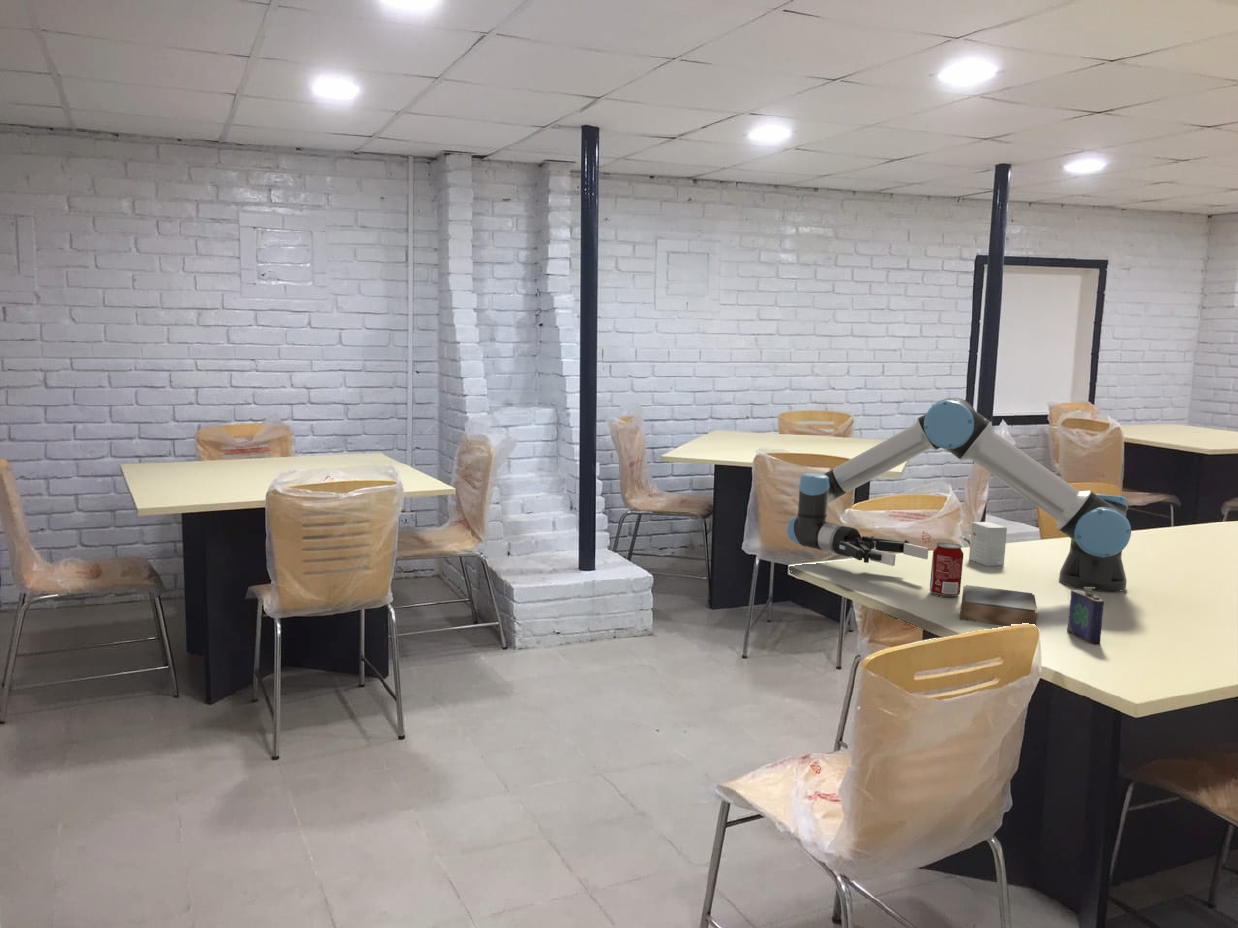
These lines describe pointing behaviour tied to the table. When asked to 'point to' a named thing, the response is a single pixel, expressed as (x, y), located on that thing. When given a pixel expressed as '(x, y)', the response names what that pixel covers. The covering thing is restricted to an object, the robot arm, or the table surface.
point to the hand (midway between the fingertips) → (911, 556)
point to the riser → (998, 606)
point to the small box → (987, 543)
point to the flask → (1086, 615)
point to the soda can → (946, 569)
